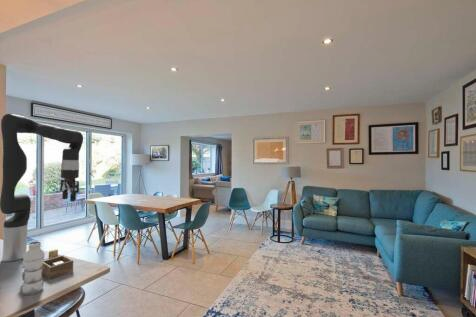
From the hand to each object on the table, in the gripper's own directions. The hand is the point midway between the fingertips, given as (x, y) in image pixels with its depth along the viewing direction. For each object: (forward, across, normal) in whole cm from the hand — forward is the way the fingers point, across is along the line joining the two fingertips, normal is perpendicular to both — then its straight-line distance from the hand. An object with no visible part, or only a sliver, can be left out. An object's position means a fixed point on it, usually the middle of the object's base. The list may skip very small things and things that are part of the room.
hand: (68, 200), depth 122 cm
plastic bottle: (+32, +20, -20) cm, 43 cm away
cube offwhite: (+31, +8, -7) cm, 33 cm away
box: (+32, +10, -8) cm, 35 cm away
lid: (+31, -2, -5) cm, 32 cm away
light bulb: (+32, +11, -18) cm, 39 cm away
